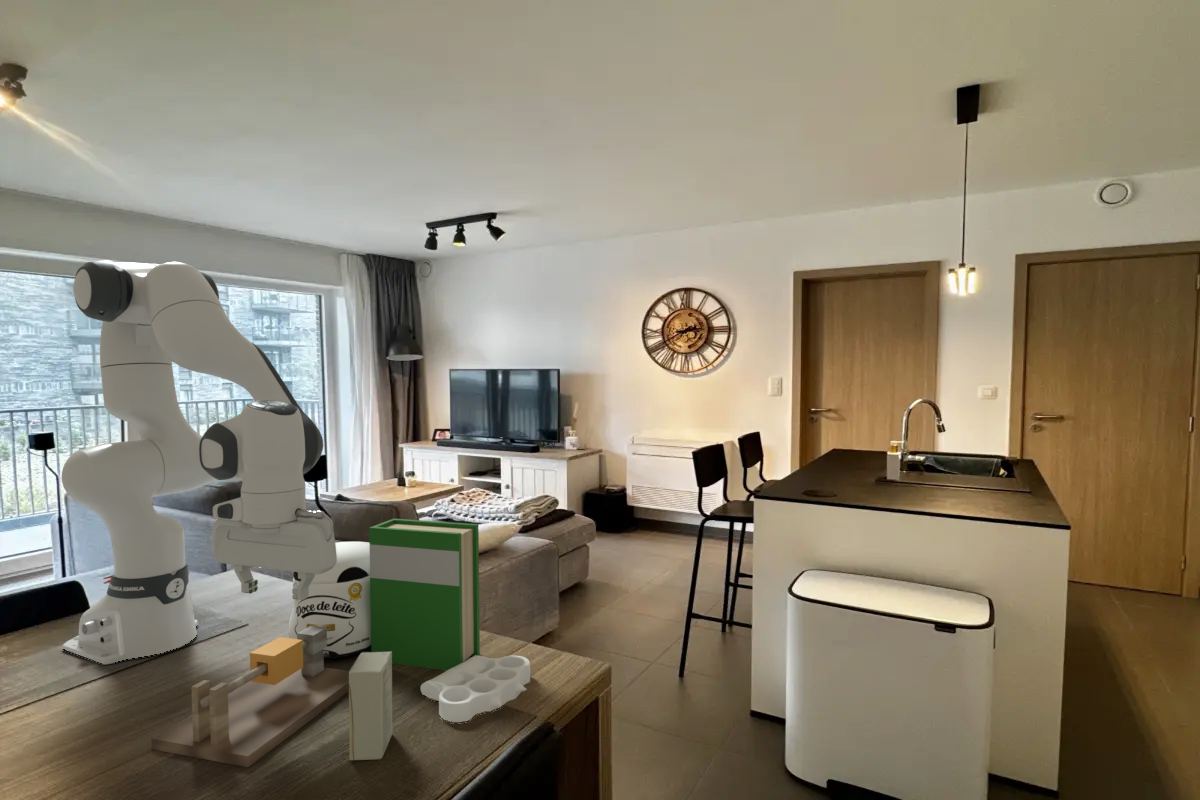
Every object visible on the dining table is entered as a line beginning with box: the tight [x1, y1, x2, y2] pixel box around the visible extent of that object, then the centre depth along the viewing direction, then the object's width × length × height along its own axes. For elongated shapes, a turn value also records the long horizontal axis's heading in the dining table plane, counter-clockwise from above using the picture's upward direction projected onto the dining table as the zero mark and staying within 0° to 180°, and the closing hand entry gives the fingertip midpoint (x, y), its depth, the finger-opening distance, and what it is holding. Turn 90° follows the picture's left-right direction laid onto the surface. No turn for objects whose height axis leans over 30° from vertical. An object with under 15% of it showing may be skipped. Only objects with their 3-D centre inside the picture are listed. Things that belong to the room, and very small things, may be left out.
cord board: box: [151, 626, 350, 768], centre depth 96 cm, size 16×24×9 cm, turn 165°
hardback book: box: [368, 518, 481, 671], centre depth 115 cm, size 18×7×24 cm, turn 74°
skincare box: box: [348, 651, 393, 761], centre depth 87 cm, size 6×4×12 cm
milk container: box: [288, 541, 371, 660], centre depth 119 cm, size 17×17×18 cm
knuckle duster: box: [420, 655, 531, 722], centre depth 102 cm, size 3×18×15 cm
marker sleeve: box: [249, 636, 303, 685], centre depth 98 cm, size 4×6×4 cm
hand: (274, 595), depth 98 cm, fingers open, 8 cm apart
